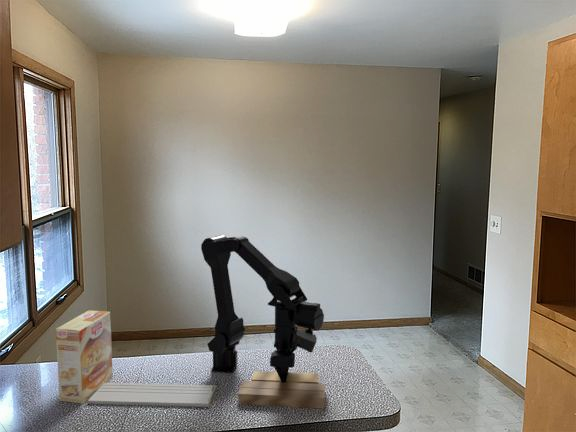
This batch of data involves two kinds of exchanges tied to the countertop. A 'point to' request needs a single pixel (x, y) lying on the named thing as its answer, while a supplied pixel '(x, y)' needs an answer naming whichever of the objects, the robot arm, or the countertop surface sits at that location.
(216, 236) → the robot arm
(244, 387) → the floor board
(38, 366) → the countertop surface
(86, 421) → the countertop surface
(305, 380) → the plank
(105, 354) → the coffeecake box
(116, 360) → the countertop surface
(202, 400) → the baseboard molding
